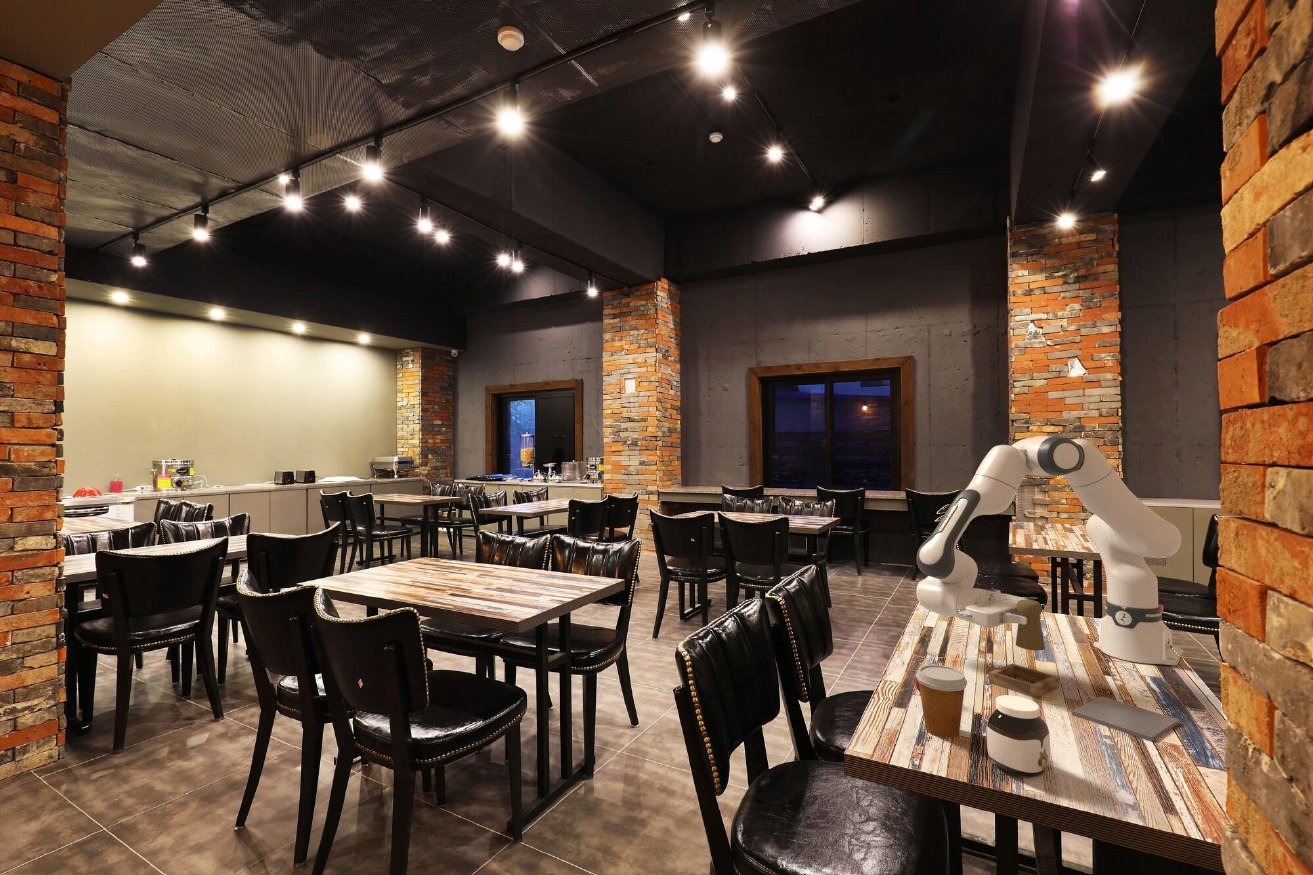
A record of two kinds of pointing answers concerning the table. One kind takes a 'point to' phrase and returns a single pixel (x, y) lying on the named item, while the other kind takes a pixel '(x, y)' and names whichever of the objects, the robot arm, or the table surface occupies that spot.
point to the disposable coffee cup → (941, 699)
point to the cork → (1030, 626)
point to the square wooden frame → (1035, 690)
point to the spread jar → (1018, 737)
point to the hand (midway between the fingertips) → (1033, 618)
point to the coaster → (1126, 718)
